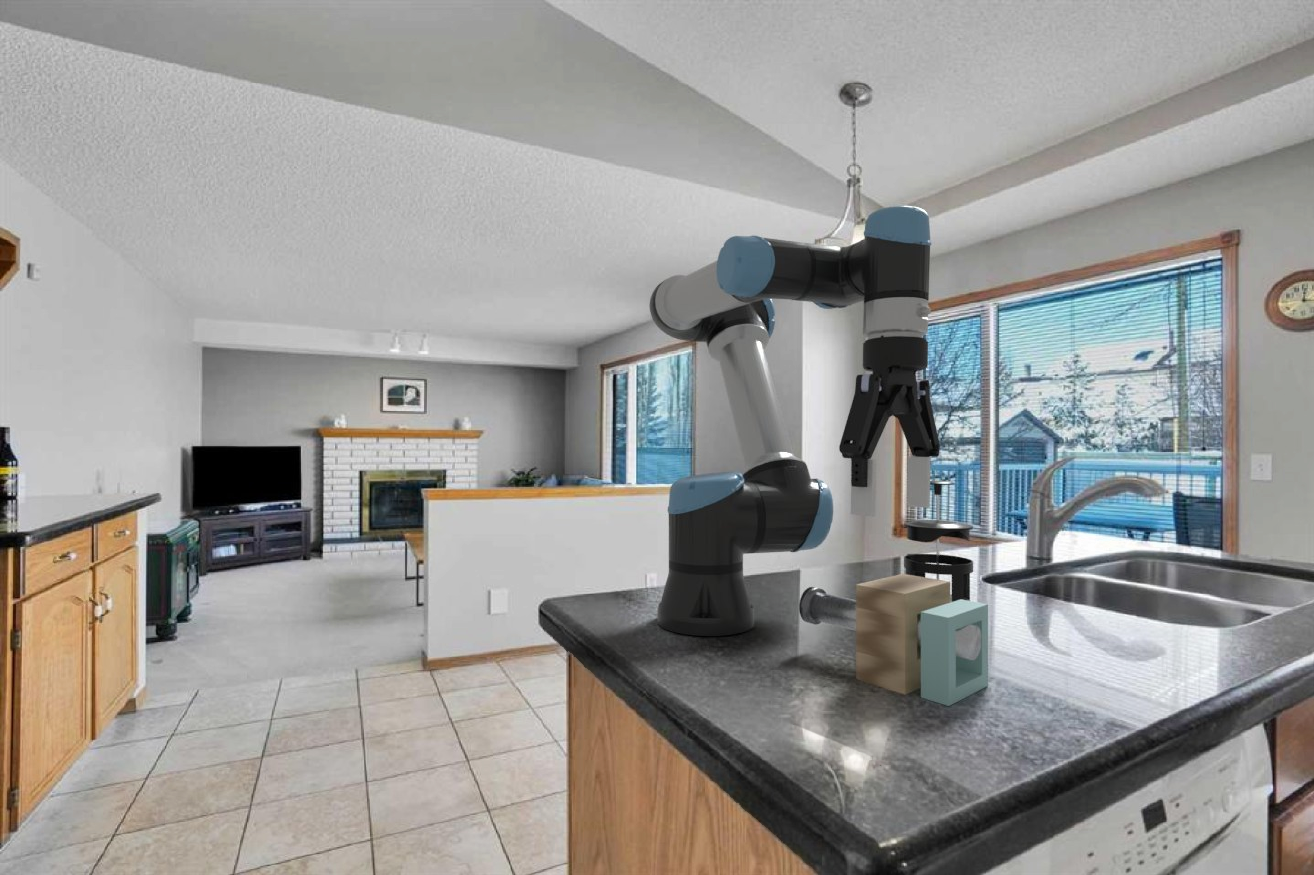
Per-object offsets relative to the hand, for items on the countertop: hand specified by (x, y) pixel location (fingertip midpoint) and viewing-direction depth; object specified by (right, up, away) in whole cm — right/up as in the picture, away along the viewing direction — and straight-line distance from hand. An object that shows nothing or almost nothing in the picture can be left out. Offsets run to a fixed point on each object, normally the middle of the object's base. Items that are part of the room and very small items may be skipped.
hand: (892, 511), depth 80 cm
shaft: (-2, -15, -3) cm, 16 cm away
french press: (+10, -20, +11) cm, 25 cm away
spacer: (+3, -18, -10) cm, 21 cm away
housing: (-1, -20, -5) cm, 20 cm away
